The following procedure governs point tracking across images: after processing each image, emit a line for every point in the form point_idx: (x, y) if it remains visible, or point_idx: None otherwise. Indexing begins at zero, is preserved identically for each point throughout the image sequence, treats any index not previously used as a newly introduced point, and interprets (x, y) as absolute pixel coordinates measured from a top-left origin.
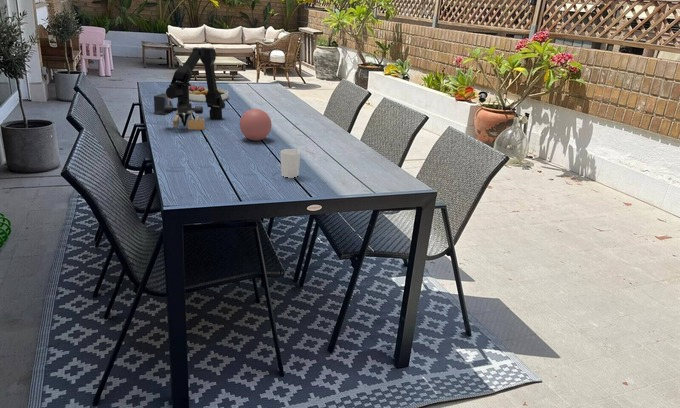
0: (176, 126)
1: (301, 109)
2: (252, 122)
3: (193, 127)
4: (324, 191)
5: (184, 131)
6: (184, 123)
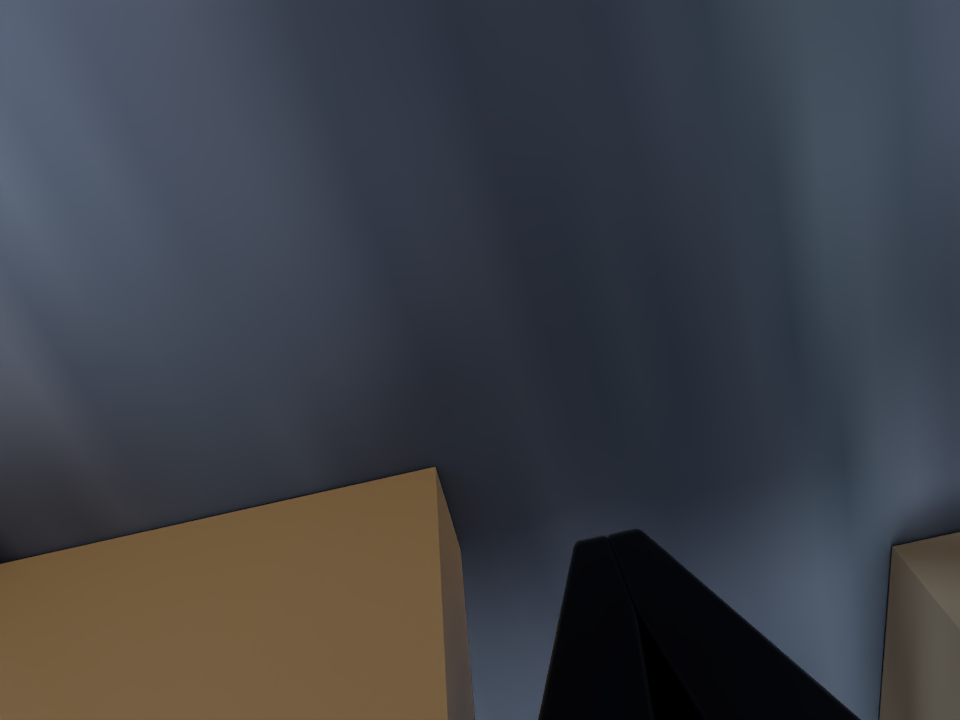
0: (918, 580)
1: None
2: None
3: (230, 564)
4: None
5: (482, 81)
6: (634, 619)
